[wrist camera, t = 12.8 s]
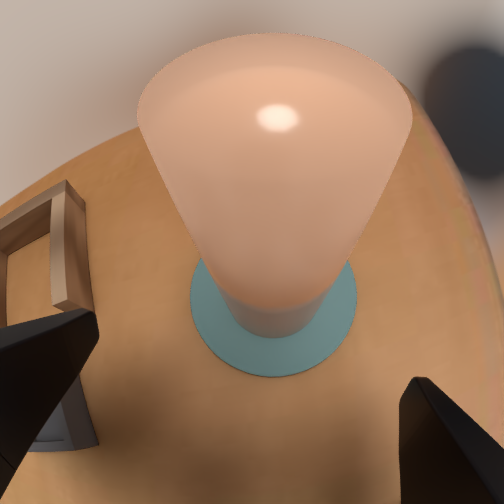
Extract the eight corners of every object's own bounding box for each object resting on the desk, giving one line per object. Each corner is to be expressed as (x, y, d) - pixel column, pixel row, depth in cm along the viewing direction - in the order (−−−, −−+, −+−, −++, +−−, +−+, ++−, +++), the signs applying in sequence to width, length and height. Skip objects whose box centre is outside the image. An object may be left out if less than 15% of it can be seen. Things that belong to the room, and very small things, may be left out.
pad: (251, 409, 13) (250, 410, 13) (166, 274, 17) (163, 270, 16) (384, 309, 15) (387, 307, 14) (289, 199, 19) (290, 193, 18)
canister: (225, 339, 14) (101, 198, 4) (227, 250, 17) (168, 44, 6) (324, 335, 14) (457, 186, 3) (315, 247, 16) (364, 38, 5)
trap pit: (98, 444, 12) (75, 450, 10) (37, 449, 12) (13, 451, 9) (74, 352, 15) (49, 345, 13) (18, 368, 14) (-6, 363, 12)
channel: (94, 313, 16) (67, 299, 13) (0, 348, 15) (-27, 339, 12) (84, 202, 20) (66, 179, 17) (0, 249, 19) (-20, 233, 16)
